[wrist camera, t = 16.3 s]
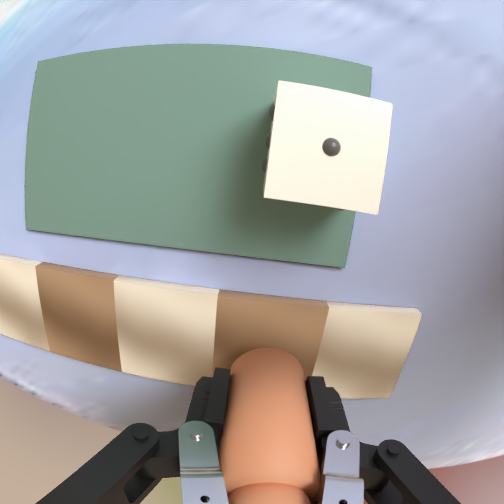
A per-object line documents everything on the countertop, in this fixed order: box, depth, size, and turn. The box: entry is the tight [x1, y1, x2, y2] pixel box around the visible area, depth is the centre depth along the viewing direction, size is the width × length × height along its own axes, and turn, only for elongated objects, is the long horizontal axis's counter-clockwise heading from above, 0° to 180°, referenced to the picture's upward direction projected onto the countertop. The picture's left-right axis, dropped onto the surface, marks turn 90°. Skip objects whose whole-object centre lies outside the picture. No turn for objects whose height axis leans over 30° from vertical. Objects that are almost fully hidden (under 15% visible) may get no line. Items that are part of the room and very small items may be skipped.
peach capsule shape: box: [218, 348, 320, 504], centre depth 10 cm, size 4×4×9 cm
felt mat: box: [25, 44, 372, 268], centre depth 14 cm, size 10×18×1 cm, turn 84°
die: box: [262, 80, 393, 215], centre depth 12 cm, size 4×4×4 cm
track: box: [0, 254, 422, 399], centre depth 17 cm, size 6×28×1 cm, turn 83°
